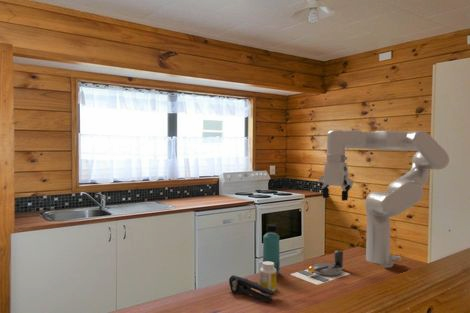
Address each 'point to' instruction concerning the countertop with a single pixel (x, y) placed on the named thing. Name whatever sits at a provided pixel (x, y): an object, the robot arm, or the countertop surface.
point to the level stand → (316, 277)
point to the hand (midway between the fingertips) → (334, 199)
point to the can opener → (249, 288)
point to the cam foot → (329, 266)
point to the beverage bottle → (271, 247)
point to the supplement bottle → (268, 276)
